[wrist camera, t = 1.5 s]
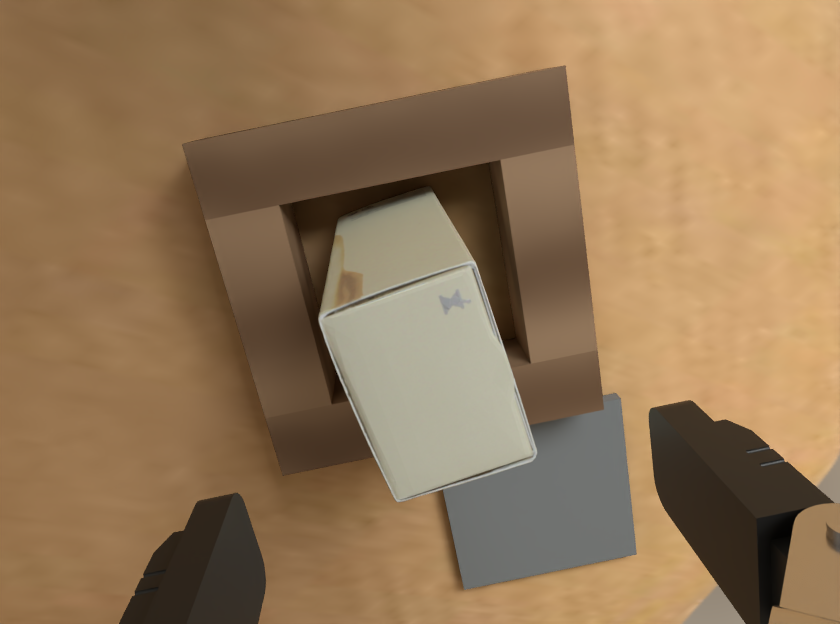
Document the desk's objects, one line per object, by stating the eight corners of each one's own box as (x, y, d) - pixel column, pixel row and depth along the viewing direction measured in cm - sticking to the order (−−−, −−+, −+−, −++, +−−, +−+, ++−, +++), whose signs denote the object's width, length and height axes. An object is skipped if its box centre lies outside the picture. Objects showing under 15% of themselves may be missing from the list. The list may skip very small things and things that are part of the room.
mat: (430, 431, 31) (431, 437, 30) (616, 392, 31) (620, 398, 30) (462, 581, 34) (464, 589, 33) (632, 546, 34) (636, 554, 33)
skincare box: (334, 216, 27) (304, 304, 16) (431, 181, 27) (473, 245, 16) (386, 349, 30) (393, 513, 18) (476, 318, 29) (543, 463, 18)
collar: (202, 138, 26) (182, 144, 23) (544, 68, 26) (565, 65, 23) (291, 440, 31) (282, 475, 28) (583, 380, 31) (604, 409, 28)
